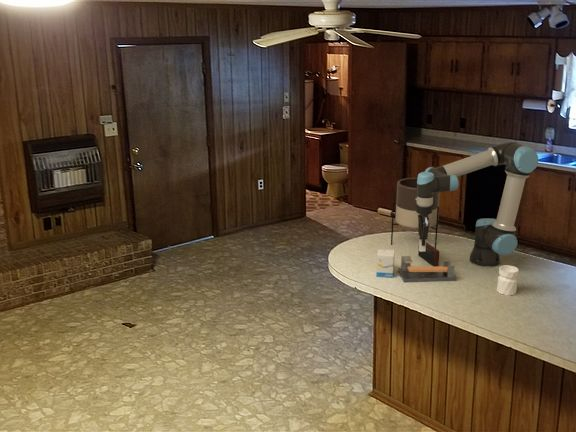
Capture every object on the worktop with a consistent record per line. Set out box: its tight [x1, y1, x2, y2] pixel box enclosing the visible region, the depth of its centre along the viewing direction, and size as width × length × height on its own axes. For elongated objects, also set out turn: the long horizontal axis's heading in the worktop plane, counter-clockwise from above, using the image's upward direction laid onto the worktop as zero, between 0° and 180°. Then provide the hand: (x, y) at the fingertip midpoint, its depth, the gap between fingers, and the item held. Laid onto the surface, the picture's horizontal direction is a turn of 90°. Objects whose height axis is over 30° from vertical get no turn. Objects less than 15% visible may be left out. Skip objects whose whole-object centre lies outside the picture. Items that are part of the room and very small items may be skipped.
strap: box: [408, 265, 447, 272], centre depth 316 cm, size 21×5×1 cm, turn 93°
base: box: [397, 259, 458, 283], centre depth 318 cm, size 26×13×8 cm, turn 93°
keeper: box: [400, 255, 413, 271], centre depth 320 cm, size 4×7×6 cm, turn 3°
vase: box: [496, 264, 520, 295], centre depth 299 cm, size 9×9×12 cm
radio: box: [417, 239, 441, 267], centre depth 335 cm, size 19×3×15 cm, turn 18°
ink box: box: [375, 248, 396, 279], centre depth 321 cm, size 9×8×12 cm
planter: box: [390, 177, 441, 249], centre depth 358 cm, size 26×25×35 cm
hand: (422, 250), depth 313 cm, fingers closed
